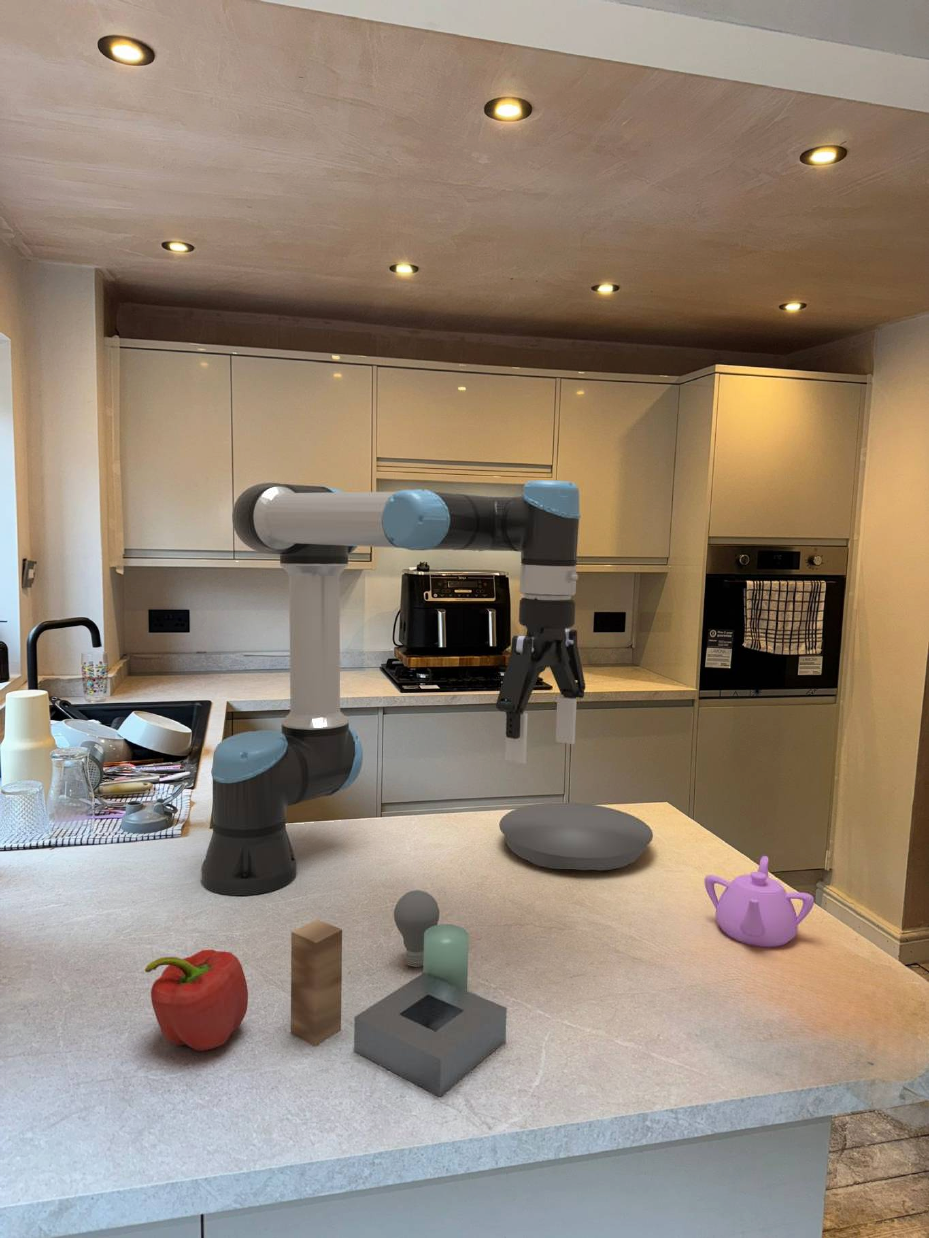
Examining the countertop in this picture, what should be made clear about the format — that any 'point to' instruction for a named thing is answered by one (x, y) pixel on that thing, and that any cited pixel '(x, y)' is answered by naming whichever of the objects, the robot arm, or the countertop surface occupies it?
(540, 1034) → the countertop surface
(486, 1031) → the bore block
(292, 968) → the walnut square peg
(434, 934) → the green round bit
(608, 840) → the flat disc
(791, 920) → the teapot
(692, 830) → the countertop surface
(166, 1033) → the vegetable
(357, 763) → the robot arm
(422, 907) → the light bulb
